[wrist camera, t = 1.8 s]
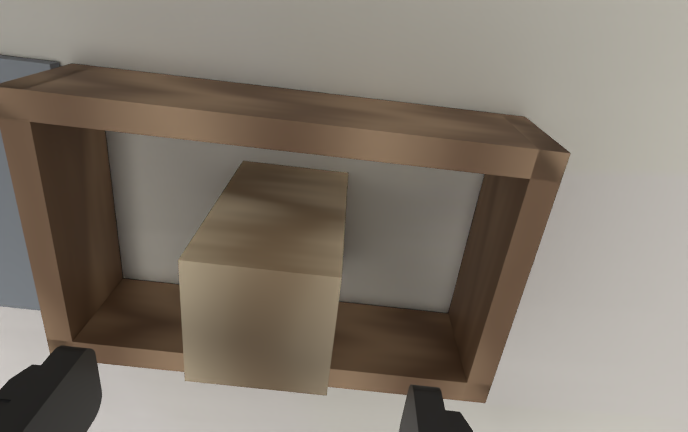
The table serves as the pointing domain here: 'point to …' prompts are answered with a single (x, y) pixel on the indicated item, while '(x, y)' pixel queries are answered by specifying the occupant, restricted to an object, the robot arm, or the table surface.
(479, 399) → the walnut surround
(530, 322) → the table surface
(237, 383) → the oak block
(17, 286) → the slate mat
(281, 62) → the table surface
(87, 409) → the robot arm
